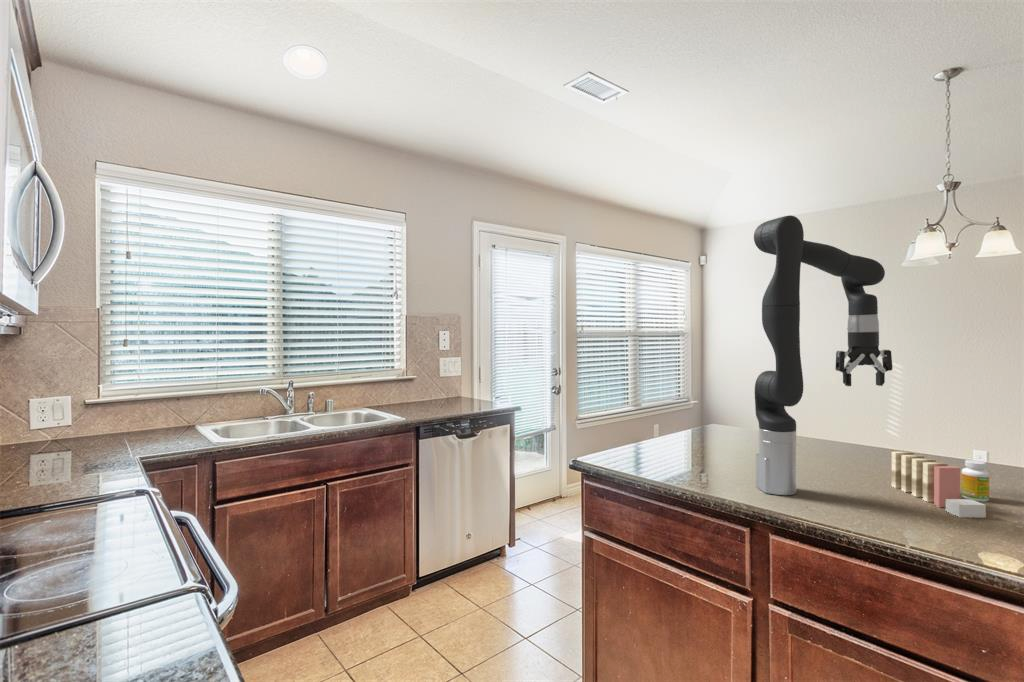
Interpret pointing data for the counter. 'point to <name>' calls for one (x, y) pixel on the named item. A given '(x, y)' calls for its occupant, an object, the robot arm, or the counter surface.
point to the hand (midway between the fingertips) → (863, 385)
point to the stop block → (966, 508)
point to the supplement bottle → (975, 481)
